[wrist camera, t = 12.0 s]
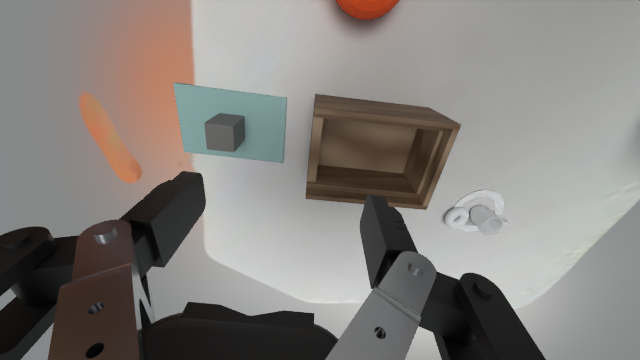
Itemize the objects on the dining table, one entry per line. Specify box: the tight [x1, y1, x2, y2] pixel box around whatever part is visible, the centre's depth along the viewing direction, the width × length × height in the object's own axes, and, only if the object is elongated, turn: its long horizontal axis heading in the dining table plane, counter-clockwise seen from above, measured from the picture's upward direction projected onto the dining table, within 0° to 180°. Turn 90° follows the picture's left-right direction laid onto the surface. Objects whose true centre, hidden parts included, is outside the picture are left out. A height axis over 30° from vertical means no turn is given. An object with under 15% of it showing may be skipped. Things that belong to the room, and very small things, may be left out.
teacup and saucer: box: [445, 190, 508, 235], centre depth 35 cm, size 9×8×4 cm
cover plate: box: [174, 83, 287, 163], centre depth 28 cm, size 8×13×5 cm, turn 83°
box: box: [306, 94, 461, 210], centre depth 28 cm, size 10×14×7 cm
